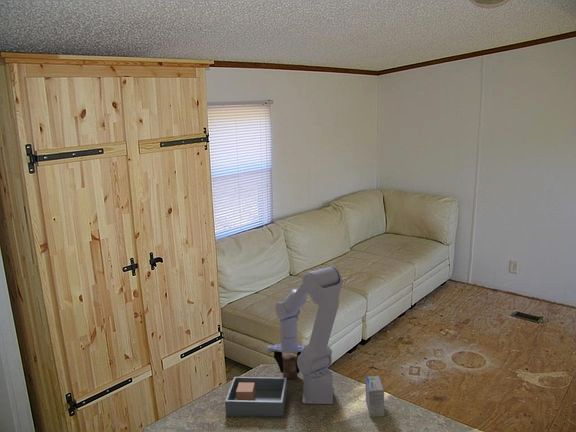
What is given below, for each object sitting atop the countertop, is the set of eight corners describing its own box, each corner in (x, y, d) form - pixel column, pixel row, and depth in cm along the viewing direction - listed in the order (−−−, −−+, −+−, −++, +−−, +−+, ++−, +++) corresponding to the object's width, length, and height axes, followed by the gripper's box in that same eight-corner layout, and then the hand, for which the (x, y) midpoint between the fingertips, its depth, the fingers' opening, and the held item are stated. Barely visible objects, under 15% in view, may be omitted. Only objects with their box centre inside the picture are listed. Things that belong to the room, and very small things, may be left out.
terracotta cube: (239, 396, 146) (238, 382, 145) (255, 396, 145) (254, 382, 144) (237, 406, 141) (236, 391, 140) (253, 406, 140) (252, 391, 139)
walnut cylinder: (298, 372, 159) (297, 354, 158) (297, 380, 154) (296, 361, 153) (283, 372, 160) (283, 354, 158) (282, 380, 155) (281, 361, 153)
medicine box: (384, 417, 134) (384, 390, 132) (369, 417, 134) (369, 390, 132) (379, 400, 142) (379, 375, 140) (365, 401, 142) (365, 375, 140)
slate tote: (287, 391, 148) (286, 377, 147) (283, 417, 136) (282, 402, 135) (235, 390, 150) (234, 376, 149) (226, 416, 137) (224, 401, 136)
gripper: (310, 329, 157) (311, 365, 160) (268, 329, 158) (270, 364, 161) (309, 339, 150) (310, 376, 153) (266, 338, 152) (267, 375, 154)
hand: (290, 371), depth 157 cm, fingers closed on walnut cylinder, 5 cm apart
